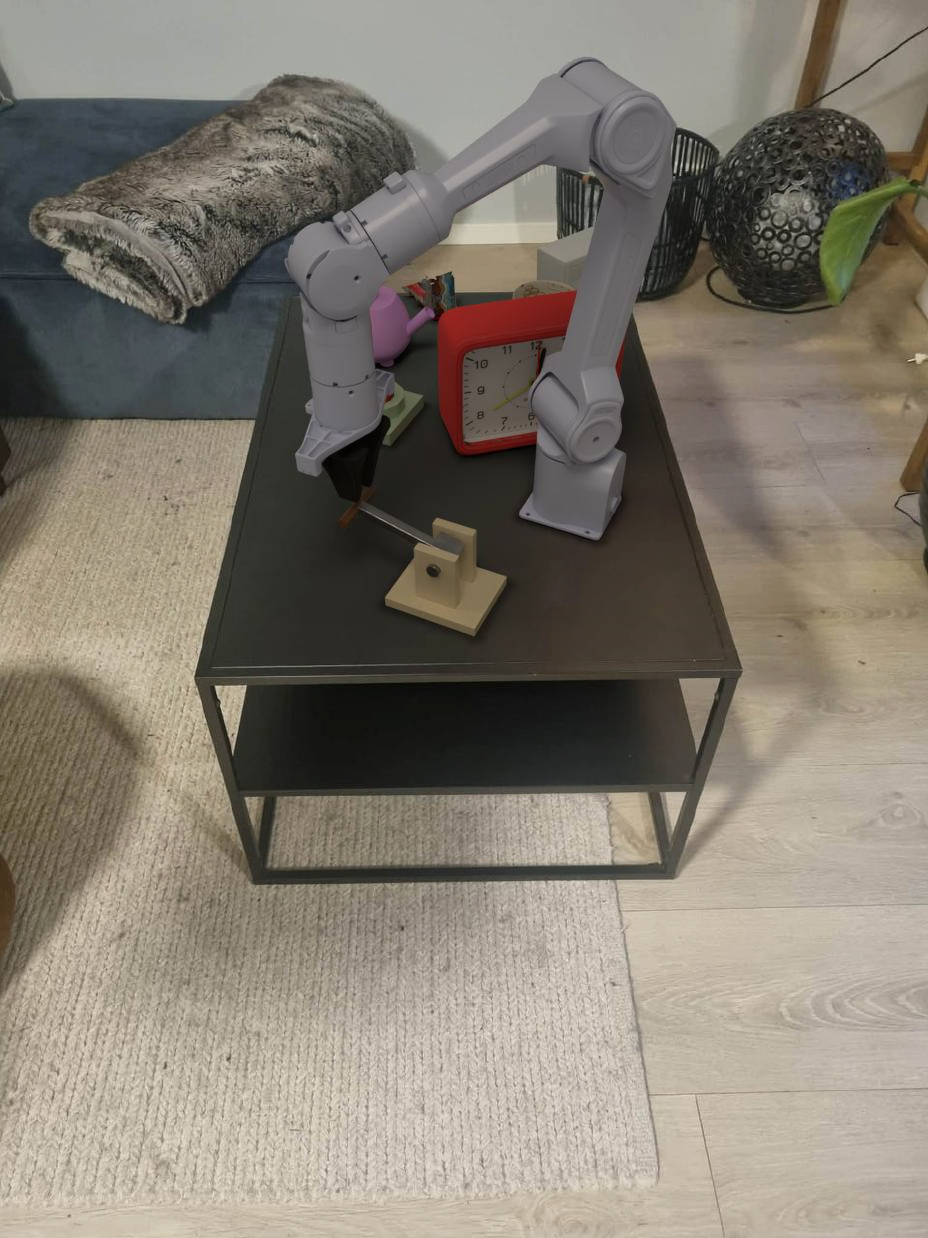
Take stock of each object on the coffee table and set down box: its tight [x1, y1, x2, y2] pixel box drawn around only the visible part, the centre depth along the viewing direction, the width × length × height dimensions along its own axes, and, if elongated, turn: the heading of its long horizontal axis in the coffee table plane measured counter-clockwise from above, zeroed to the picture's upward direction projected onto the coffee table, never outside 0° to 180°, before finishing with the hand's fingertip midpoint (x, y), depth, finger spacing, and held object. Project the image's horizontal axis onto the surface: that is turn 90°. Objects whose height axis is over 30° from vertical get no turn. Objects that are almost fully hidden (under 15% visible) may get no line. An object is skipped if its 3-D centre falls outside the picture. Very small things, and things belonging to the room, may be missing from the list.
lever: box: [337, 484, 465, 561], centre depth 92 cm, size 12×6×2 cm, turn 65°
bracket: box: [384, 517, 508, 637], centre depth 93 cm, size 10×8×8 cm
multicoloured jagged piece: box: [401, 270, 459, 321], centre depth 133 cm, size 12×7×6 cm
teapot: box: [369, 285, 435, 368], centre depth 123 cm, size 10×15×9 cm
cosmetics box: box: [536, 225, 595, 290], centre depth 129 cm, size 10×6×10 cm, turn 126°
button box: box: [382, 381, 425, 447], centre depth 115 cm, size 8×9×4 cm
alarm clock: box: [437, 290, 627, 456], centre depth 109 cm, size 10×20×16 cm, turn 105°
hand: (355, 490), depth 91 cm, fingers closed
